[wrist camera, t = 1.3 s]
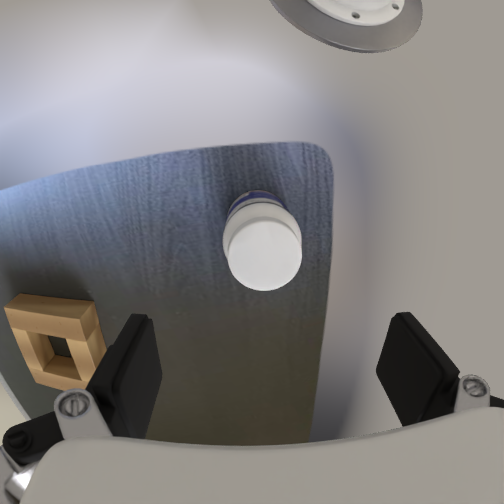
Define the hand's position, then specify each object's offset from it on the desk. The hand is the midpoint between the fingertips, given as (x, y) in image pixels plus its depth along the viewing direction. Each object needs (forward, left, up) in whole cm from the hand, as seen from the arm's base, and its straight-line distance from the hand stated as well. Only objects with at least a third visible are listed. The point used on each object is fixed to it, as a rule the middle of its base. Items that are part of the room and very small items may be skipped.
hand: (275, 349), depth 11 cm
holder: (+16, -25, -18) cm, 35 cm away
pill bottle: (0, 0, -19) cm, 19 cm away
